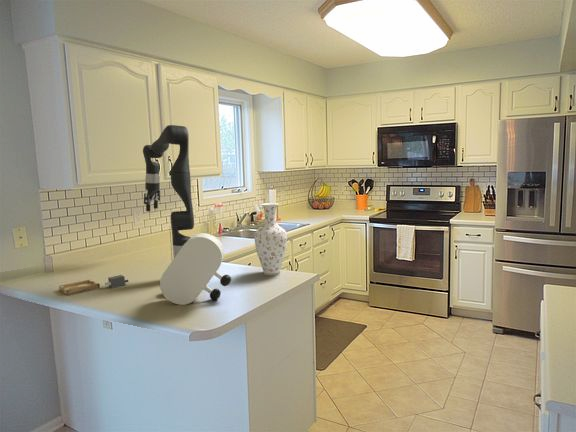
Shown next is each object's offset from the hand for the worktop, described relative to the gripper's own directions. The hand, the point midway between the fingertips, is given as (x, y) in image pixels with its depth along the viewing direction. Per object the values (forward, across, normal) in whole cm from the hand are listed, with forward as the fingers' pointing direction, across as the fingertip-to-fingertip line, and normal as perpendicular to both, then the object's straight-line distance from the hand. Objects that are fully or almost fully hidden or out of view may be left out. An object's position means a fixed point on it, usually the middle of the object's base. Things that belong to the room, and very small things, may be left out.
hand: (152, 209), depth 249 cm
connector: (+26, -48, -8) cm, 55 cm away
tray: (+27, -55, +6) cm, 62 cm away
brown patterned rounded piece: (+21, -56, -40) cm, 72 cm away
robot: (+19, -64, -54) cm, 86 cm away
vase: (+19, -18, -75) cm, 80 cm away
